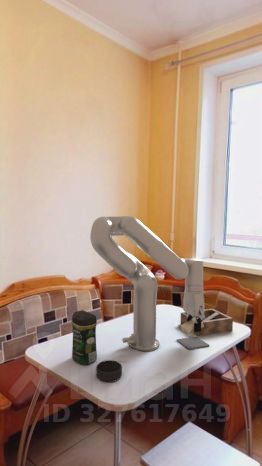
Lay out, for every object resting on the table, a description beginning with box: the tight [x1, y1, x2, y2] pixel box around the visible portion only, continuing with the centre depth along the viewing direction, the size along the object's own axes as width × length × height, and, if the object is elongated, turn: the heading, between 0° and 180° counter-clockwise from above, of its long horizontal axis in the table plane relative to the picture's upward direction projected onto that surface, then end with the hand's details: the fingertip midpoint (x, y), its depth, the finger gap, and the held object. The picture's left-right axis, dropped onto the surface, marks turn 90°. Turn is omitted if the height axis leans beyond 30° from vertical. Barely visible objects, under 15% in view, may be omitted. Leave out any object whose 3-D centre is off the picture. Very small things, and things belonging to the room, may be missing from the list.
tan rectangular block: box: [180, 318, 204, 337], centre depth 140 cm, size 8×5×3 cm, turn 112°
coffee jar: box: [71, 309, 98, 365], centre depth 124 cm, size 10×8×19 cm
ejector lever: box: [203, 312, 219, 321], centre depth 159 cm, size 15×6×1 cm, turn 112°
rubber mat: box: [176, 335, 210, 351], centre depth 141 cm, size 10×10×1 cm
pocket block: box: [180, 308, 234, 337], centre depth 160 cm, size 19×16×6 cm
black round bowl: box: [95, 359, 123, 383], centre depth 113 cm, size 9×9×4 cm
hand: (194, 328), depth 140 cm, fingers closed on tan rectangular block, 4 cm apart
